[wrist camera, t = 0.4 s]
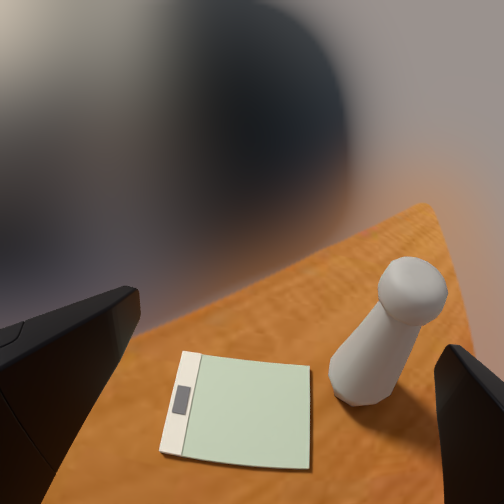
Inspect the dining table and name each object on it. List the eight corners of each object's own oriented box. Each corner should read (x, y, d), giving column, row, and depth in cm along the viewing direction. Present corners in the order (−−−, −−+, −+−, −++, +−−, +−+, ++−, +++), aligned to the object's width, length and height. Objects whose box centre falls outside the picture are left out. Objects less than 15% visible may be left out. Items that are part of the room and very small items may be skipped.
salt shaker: (390, 370, 26) (462, 262, 17) (376, 424, 22) (466, 326, 13) (333, 348, 28) (383, 231, 19) (311, 400, 23) (367, 289, 15)
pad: (307, 469, 19) (309, 467, 19) (160, 452, 19) (158, 450, 19) (308, 368, 26) (309, 364, 25) (183, 353, 26) (182, 350, 26)
